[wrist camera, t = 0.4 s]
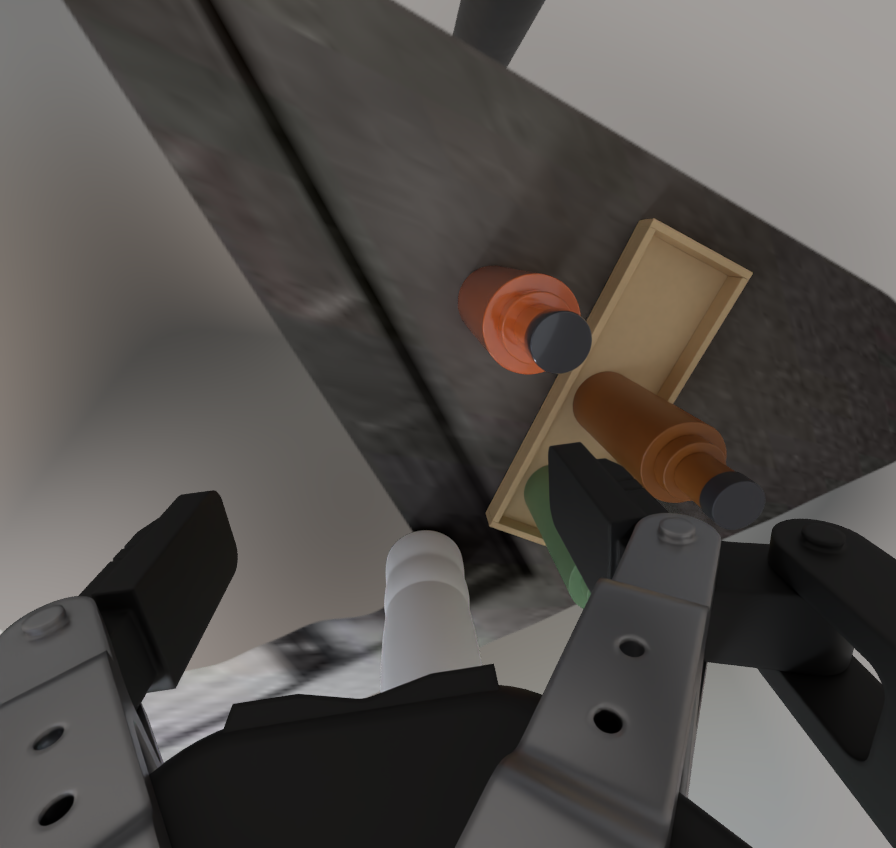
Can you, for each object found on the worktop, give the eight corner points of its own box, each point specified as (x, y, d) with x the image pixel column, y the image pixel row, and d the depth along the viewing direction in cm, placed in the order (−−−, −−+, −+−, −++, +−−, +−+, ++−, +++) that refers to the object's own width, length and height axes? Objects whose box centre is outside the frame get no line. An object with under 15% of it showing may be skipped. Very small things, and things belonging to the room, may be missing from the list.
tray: (639, 219, 36) (654, 217, 34) (733, 271, 38) (753, 272, 36) (485, 513, 44) (489, 526, 42) (570, 543, 46) (578, 558, 44)
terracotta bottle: (451, 273, 37) (491, 293, 20) (521, 259, 37) (617, 267, 20) (464, 342, 39) (510, 412, 22) (530, 329, 39) (624, 388, 22)
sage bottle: (519, 470, 42) (594, 611, 26) (579, 457, 42) (691, 590, 26) (527, 522, 44) (601, 684, 28) (585, 510, 44) (692, 664, 28)
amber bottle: (569, 378, 40) (686, 470, 23) (632, 365, 40) (794, 447, 23) (575, 437, 42) (688, 561, 25) (635, 424, 42) (787, 539, 25)
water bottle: (381, 586, 46) (359, 940, 22) (391, 522, 44) (379, 842, 20) (454, 593, 47) (505, 937, 23) (467, 530, 45) (539, 843, 21)
